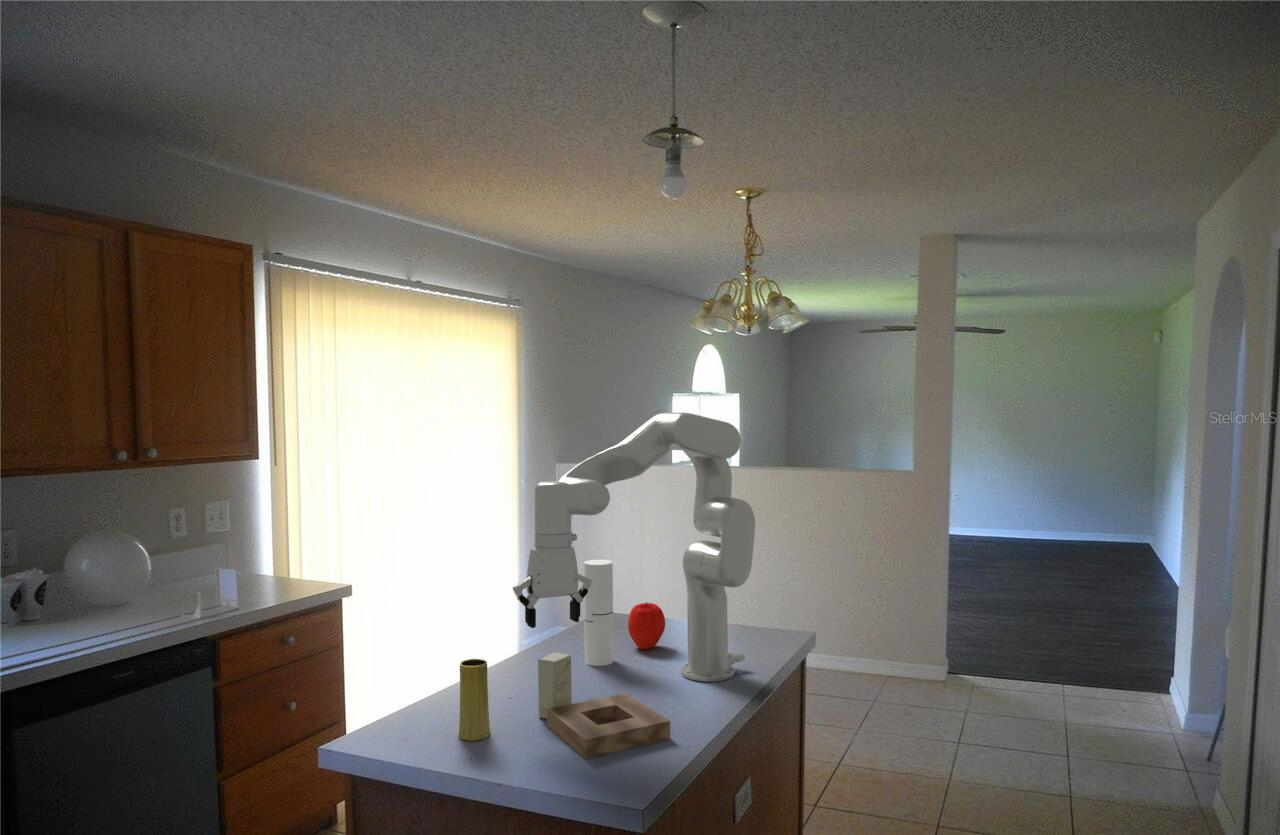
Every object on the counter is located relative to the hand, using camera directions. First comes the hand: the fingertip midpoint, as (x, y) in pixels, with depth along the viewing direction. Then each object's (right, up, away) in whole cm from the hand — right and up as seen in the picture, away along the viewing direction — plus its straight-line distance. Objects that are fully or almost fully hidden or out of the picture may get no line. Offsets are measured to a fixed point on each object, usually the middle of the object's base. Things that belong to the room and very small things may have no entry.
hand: (553, 623), depth 174 cm
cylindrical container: (+8, -19, +37) cm, 42 cm away
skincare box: (0, -19, 0) cm, 19 cm away
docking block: (+12, -19, -9) cm, 24 cm away
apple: (+20, -18, +48) cm, 55 cm away
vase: (-14, -20, -10) cm, 26 cm away
